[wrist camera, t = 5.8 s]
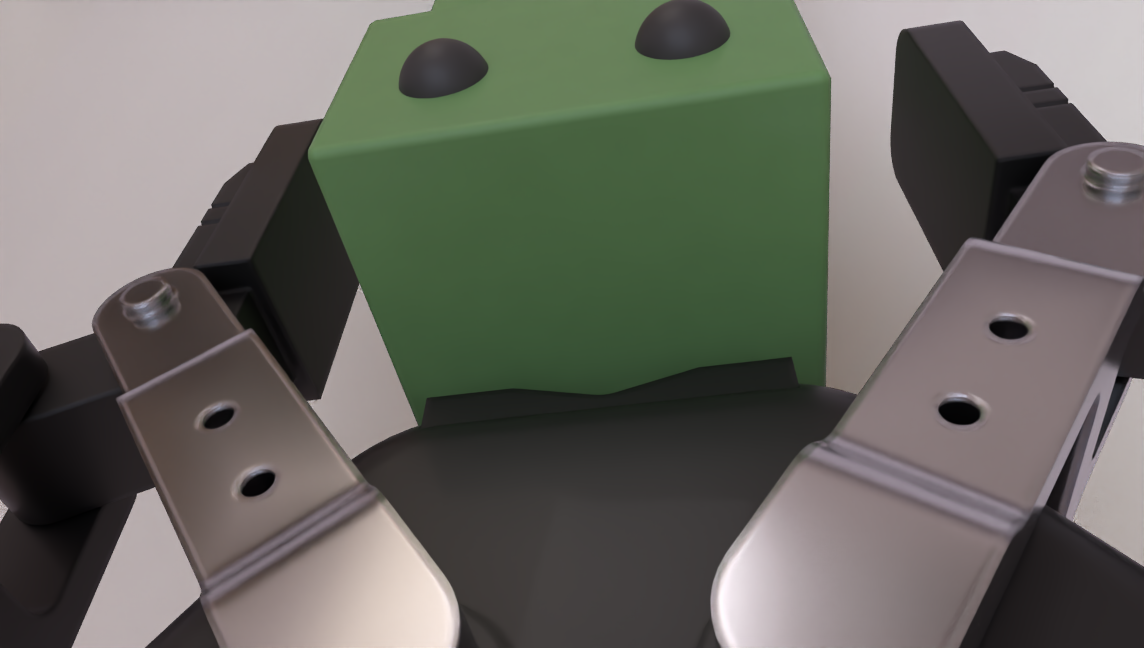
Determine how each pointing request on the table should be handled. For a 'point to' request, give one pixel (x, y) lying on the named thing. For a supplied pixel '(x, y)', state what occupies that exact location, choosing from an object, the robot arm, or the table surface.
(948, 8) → the table surface
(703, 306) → the toy dinosaur
